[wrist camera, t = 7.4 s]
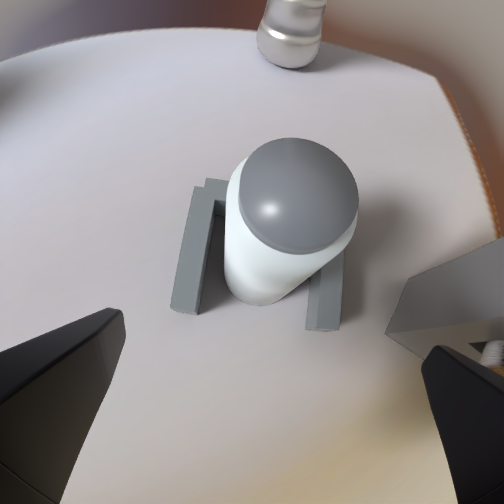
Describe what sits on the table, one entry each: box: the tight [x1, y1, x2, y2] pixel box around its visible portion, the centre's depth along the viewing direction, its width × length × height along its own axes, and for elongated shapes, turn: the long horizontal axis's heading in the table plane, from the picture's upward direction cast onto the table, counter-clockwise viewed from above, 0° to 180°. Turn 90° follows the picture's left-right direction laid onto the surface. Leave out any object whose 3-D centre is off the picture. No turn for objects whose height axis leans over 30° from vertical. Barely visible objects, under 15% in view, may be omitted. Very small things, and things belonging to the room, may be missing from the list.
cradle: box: [170, 178, 344, 332], centre depth 20 cm, size 9×10×2 cm
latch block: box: [384, 236, 504, 363], centre depth 15 cm, size 5×8×12 cm, turn 57°
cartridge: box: [224, 138, 359, 306], centre depth 15 cm, size 5×5×12 cm
